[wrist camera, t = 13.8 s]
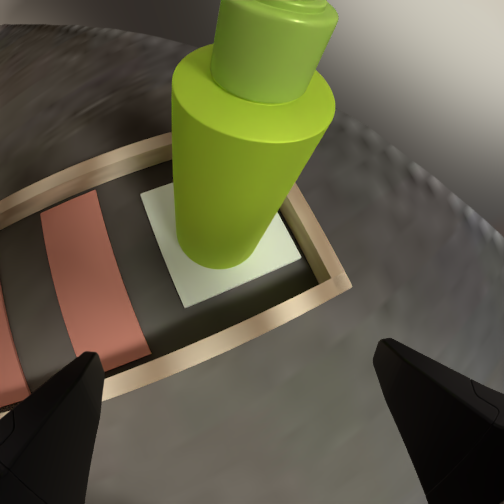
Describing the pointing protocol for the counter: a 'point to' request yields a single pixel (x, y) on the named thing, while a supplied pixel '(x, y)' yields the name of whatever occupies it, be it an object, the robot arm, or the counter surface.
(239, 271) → the pad
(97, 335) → the mats
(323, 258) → the frame
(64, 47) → the counter surface
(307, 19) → the soap dispenser
